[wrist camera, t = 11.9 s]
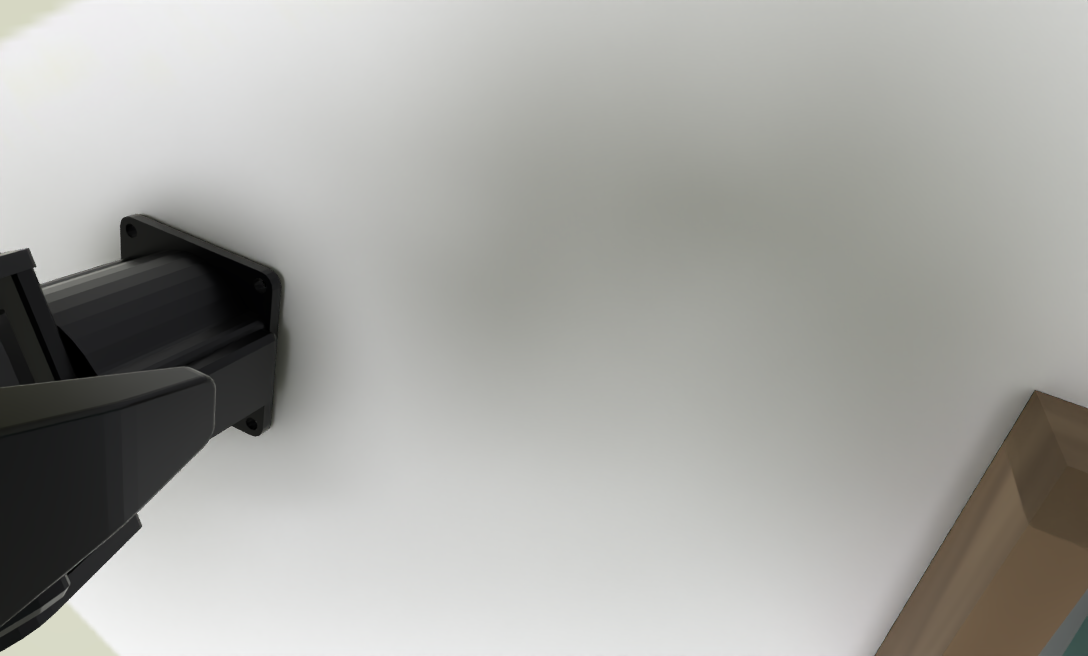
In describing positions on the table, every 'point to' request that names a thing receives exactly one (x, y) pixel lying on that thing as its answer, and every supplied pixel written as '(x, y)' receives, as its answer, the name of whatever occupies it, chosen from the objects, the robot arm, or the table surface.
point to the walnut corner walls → (1009, 547)
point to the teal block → (1079, 642)
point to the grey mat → (1067, 629)
